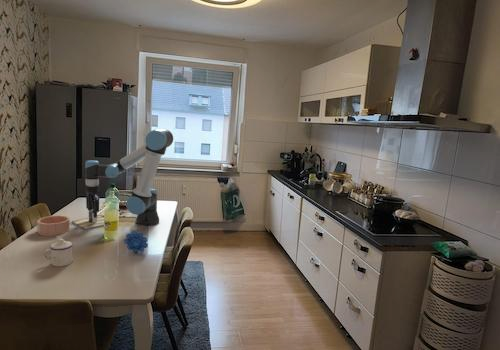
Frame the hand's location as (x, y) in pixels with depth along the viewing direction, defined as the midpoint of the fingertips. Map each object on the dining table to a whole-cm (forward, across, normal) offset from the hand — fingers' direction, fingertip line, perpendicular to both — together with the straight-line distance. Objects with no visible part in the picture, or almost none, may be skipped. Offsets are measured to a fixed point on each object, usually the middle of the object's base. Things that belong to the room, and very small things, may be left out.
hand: (92, 220), depth 210 cm
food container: (+2, -27, +38) cm, 47 cm away
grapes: (+2, +57, -5) cm, 57 cm away
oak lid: (+2, 0, 0) cm, 2 cm away
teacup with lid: (+2, +43, -37) cm, 57 cm away
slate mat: (+2, 0, 0) cm, 2 cm away
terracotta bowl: (+2, -2, -22) cm, 22 cm away
